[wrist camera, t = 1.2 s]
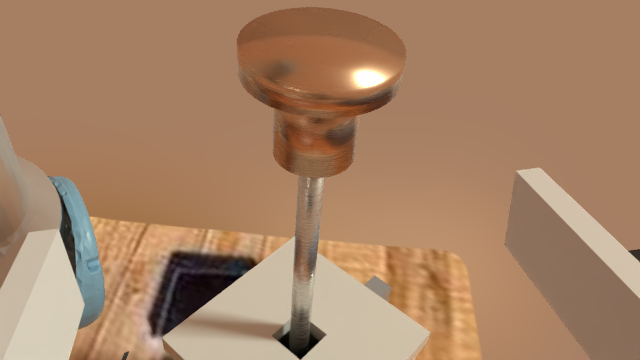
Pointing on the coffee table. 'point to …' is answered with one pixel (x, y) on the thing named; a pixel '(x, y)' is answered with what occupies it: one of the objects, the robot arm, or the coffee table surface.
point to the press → (275, 312)
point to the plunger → (316, 111)
